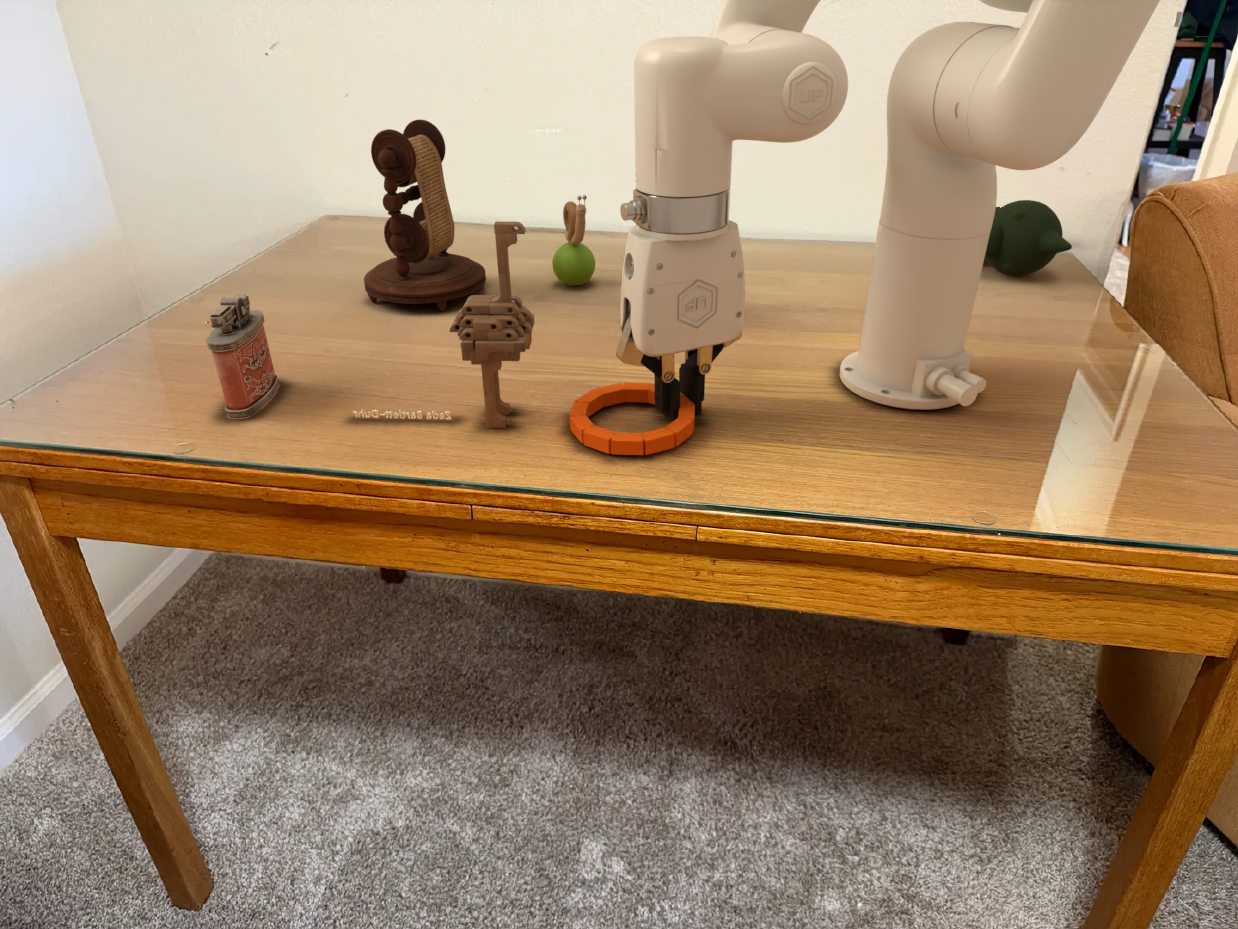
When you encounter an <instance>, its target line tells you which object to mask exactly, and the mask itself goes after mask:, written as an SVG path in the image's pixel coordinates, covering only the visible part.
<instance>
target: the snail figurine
mask: <svg viewBox="0 0 1238 929" xmlns="http://www.w3.org/2000/svg"><path fill="white" fill-rule="evenodd" d="M587 198H588V197H587V195H586V194H583V195H582V196H581V195H577V197H576V199H577V201H578V202H579V203H578V204H577V203H575V202H574V201H567V202H566V203H565V204H564V205H563V209H562V217H563V218H562V219H563V223H564V227H565V229H564V237H565V240H566V242H565V243H563V244H562V245H560V246H559V247H558V248H557V249H556V250H555V252H554V254H553V257H552V263H551V264H552V270H553V273H554V275H555V277H557V279H558V280H559V281H560V283H562V284H565V285H567V286H571V287H577V286H581V285H583V284H585V283H587V282H588V281H590V279H591V278H592V276H593V275H594V273H595V270H596V258H595V255H594V253H593V252H592V250H591V249H590V247H588V246H587V245H585V244H584V243H582V242H584V241H583V240H584V237H585V232H586V213H587V207H586V200H587ZM581 200H583V202H584V203H583V204H582V203H581Z"/></svg>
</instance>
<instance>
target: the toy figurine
mask: <svg viewBox="0 0 1238 929" xmlns="http://www.w3.org/2000/svg"><path fill="white" fill-rule="evenodd" d="M1002 206H1003V207H1001V208H1000V207H999V206H996V209H995V215H994V219H993V224H992V228H991V231H990V235H989V240H988V244H987V249H986V253H985V258H984V260H986V262H987V263H988V264H989V265H990V267H992V268H993V269H994V270H996V271H997V272H1000V273H1002V274H1005V275H1009V276H1016V277H1025V276H1028V275H1032V274H1034V273H1036V272H1038V271H1040V270H1042V269H1044V267H1046V266H1047V265H1048V264H1050V263H1051V261H1053V260H1054V258H1055V257H1056V255H1057V254H1060V253H1063V252H1067V251H1070V250H1072V248H1073V245H1072V244H1071V243H1070V242H1069V241H1067V239H1065V238H1064V237H1063V226H1062V222H1061V220H1060V219H1059V217H1058V215H1057V214H1056V212H1055V211H1054V210H1053V209H1052V208H1051V207H1050V206H1048V205H1047V204H1046V203H1044V202H1041V201H1037V200H1031V199H1020V200H1015V201H1012V202H1009V203H1006V204H1004V205H1002Z"/></svg>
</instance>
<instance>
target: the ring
mask: <svg viewBox="0 0 1238 929" xmlns="http://www.w3.org/2000/svg"><path fill="white" fill-rule="evenodd" d="M622 403H647V404H648V403H649V404H651V405H655V383H653V384H652V383H651V382H623V383H621V382H618V383H614V384H609V385H605V386H604V385H603V386H600V387H596V388H594V389H593V388H592V389H590V390H589V391H587V392H586V393H584V394H583V395H581V396H579V397H577V398H576V399H575V400H574V401H573V403H572V407H571V409H570V412H569V415H568V416H569V428H570V431H571V433H572V434H573V435H574V436H575V438H576V439H577V440H578V441H579V442H580V443H581V444H583V446H585V447H588V448H591V449H594V450H597V451H599V452H602V453H605V454H608V455H609V454H611V455H616V456H617V455H621V456H622V455H623V456H644V455H645V456H648V455H652V454H656V453H660V452H664V451H667V450H668V451H669V450H672V449H674V448H675V447H678V446H679V445H681V444H682V443H683V442H684V441H686V440H688V438H690V437H691V436H692V435H693V434H694V432H695V420H696V418H695V417H696V416H695V405H694V403H693V402H691V401H690V400H689V399H688V398H687V397H686V396H684V395H683V394H682V393H681V392H680V408H679V416H678V418H677V419H676V420H674V421H673V422H672V421H671V422H670V423H669V424H667V425H666V426H664V427H661V428H656V429H653V430H649V431H644V432H617V431H613V430H610V429H607V428H604V427H601V426H597V425H596V424H595V423H594V422H592V420H591V419H590V417H591V416H592V415H594V414H595V413H596V412H598V411H599V410H601V409H603V408H605V407H608V406H609V407H610V406H615V405H619V404H622Z"/></svg>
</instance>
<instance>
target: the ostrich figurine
mask: <svg viewBox="0 0 1238 929" xmlns="http://www.w3.org/2000/svg"><path fill="white" fill-rule="evenodd" d="M515 227H516V228H517V229H516V228H515ZM493 230H494V235H495V236H494V237H495V250H496V263H497V272H498V285H499V286H498V287H499V294H494V295H493V294H488V295H487V294H470V296H468V297H467V299H466V301H465V303H464V304H463V306H462V308H460V309H459V311H458V313H457V314H456V316H455V318H454V320H453V322H452V324H451V326H450V327H449V333H457V337H458V340H460V350H461V359H462V361H463V362H465V361H466V362H470V363H471V365H473V366H474V365H480V367H481V377H482V388H483V389H482V390H483V400H484V410H485V420H486V421H485V422H486V429H506V426H507V416H510V414H511V403H509V402H505V401H503V399H502V398H501V388H500V376H499V375H500V374H499V371H501V369H502V366H503V364H502V362H520V360H521V353H526V350H530V349H531V345H532V342H533V341H532V340H533V338H532V334H533V329H534V325H535V314H534V313H532V312H531V311H530V309H528V308H527V307H526V306H524V304H523V301H522V299H521V298H520V296H517V295H516V294H512V284H511V271H510V258H509V248H510V246H512V245H515V244H517V243H518V235H525V234H526V231H527V230H526V227H525V226H524V225H523V223H522V222H520V221H495V222H494V223H493ZM431 412H432V413H431ZM431 412H426V417H425V419H426V420H431V419H433V420H438V419H439V420H452V419H453V418H452V417H451V416H450V414H451V411H444V412H443V413H442V412H441V413H439V414H438V413H437V412H435V411H434V410H432V411H431ZM352 413H353V414H355V418H361V417H362V418H363V419H364V418H366V419H367V418H368V419H370V418H371V417H372V418H374V419H379V416H385V419H398V418H400V419H403V420H404V419H406V415H407V419H413V420H415V419H416V418H417V419H419V420H423V412H422V410H417V411H416V412H411V413H410V412H406V411H402V410H401V409H399V410H398V412H397V411H395V412H393V411H392V410H390V411H388V410H387V411H385V412H384V413H380V414H379V410H378V409H373V410H371V411H368V412H367V411H364V409H361V410H360V411H355V410H353V411H352ZM374 413H375V415H374ZM389 415H390V416H389ZM445 415H446V416H447V417H445Z"/></svg>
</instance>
